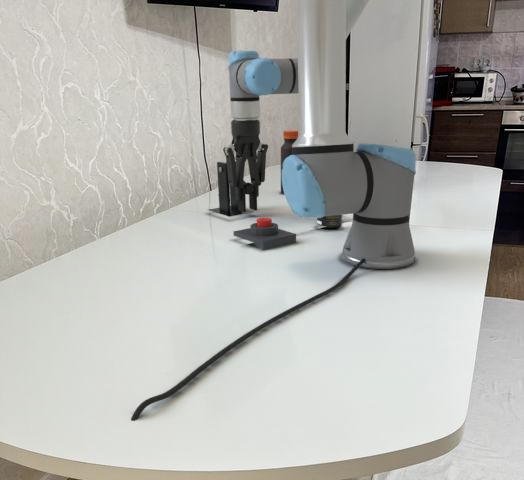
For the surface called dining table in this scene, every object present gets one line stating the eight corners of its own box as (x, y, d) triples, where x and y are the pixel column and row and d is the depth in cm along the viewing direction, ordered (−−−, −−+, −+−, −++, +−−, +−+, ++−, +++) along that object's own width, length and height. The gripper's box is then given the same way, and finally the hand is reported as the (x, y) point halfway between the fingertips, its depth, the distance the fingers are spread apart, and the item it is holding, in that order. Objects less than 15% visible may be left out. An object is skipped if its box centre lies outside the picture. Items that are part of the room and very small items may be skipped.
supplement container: (347, 228, 138) (349, 187, 133) (326, 232, 134) (328, 190, 130) (331, 223, 143) (332, 183, 138) (311, 227, 140) (312, 186, 135)
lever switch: (255, 216, 152) (254, 162, 146) (229, 220, 148) (227, 165, 141) (232, 209, 161) (229, 158, 154) (207, 213, 156) (203, 161, 149)
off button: (274, 226, 126) (274, 219, 125) (262, 229, 124) (262, 221, 123) (265, 224, 128) (265, 216, 127) (253, 226, 126) (253, 219, 125)
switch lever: (254, 196, 145) (257, 186, 143) (245, 197, 143) (247, 187, 141) (229, 170, 151) (232, 160, 149) (220, 171, 149) (222, 161, 147)
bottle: (278, 194, 181) (278, 132, 172) (282, 190, 187) (282, 130, 178) (298, 194, 180) (299, 132, 171) (301, 191, 186) (302, 130, 177)
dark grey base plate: (296, 242, 126) (296, 226, 124) (263, 250, 121) (262, 233, 119) (265, 233, 135) (265, 217, 133) (233, 240, 129) (232, 224, 127)
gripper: (261, 116, 143) (262, 204, 154) (211, 120, 134) (216, 212, 145) (278, 118, 138) (278, 208, 149) (227, 121, 129) (231, 217, 140)
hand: (247, 210), depth 147 cm, fingers closed on switch lever, 3 cm apart
